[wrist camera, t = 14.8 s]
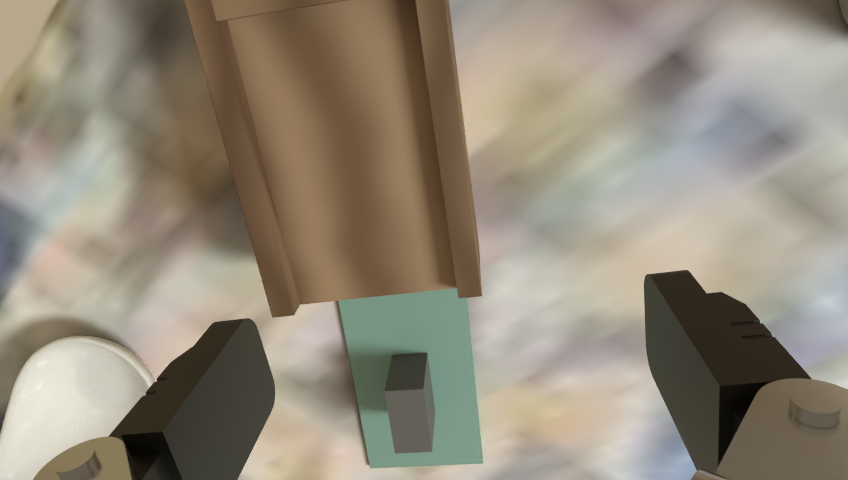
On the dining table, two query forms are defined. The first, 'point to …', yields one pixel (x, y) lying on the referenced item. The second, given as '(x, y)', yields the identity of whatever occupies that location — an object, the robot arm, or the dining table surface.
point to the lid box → (344, 144)
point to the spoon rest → (67, 400)
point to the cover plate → (447, 370)
